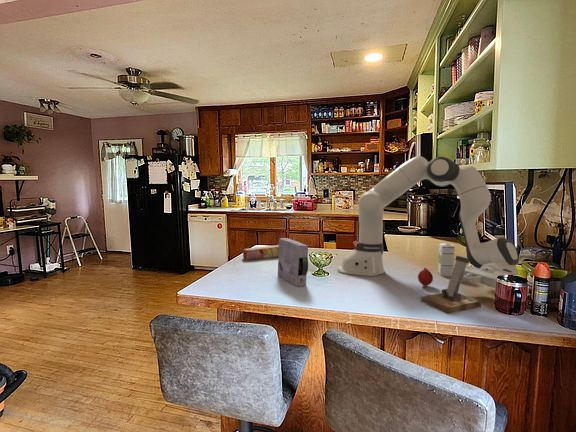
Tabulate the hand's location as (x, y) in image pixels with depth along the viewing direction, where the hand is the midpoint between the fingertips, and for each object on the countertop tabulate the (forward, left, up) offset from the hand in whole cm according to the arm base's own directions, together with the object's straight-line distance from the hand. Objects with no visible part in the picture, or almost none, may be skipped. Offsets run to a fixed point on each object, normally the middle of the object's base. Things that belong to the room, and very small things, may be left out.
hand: (466, 279), depth 123 cm
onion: (-10, +16, -9) cm, 21 cm away
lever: (-6, -4, -5) cm, 9 cm away
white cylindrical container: (+4, +36, -9) cm, 37 cm away
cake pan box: (-66, +14, -9) cm, 68 cm away
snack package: (-89, +53, -9) cm, 104 cm away
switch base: (-6, -4, -8) cm, 11 cm away
